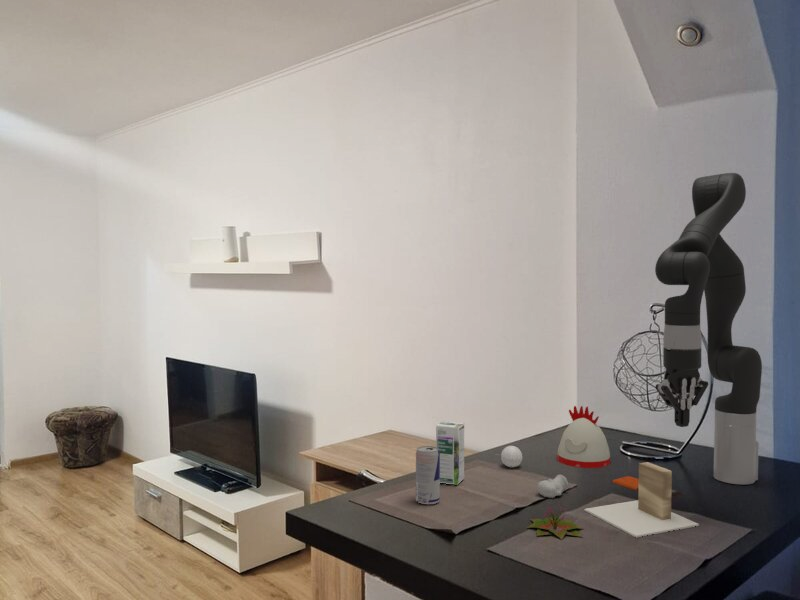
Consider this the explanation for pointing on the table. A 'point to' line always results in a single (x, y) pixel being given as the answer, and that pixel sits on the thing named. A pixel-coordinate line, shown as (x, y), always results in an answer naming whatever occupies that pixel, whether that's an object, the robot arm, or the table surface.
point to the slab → (655, 490)
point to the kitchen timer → (583, 442)
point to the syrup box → (451, 451)
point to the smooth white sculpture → (553, 486)
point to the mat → (638, 519)
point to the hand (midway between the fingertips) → (681, 425)
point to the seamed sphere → (511, 456)
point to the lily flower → (554, 522)
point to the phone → (637, 484)
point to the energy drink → (428, 474)
